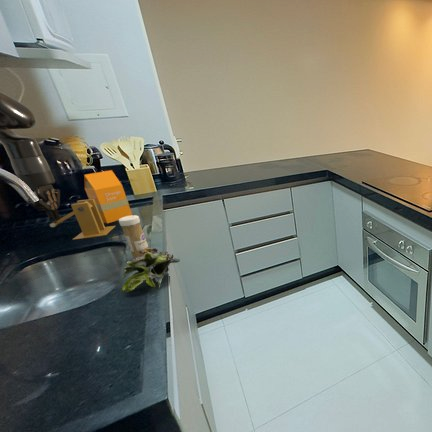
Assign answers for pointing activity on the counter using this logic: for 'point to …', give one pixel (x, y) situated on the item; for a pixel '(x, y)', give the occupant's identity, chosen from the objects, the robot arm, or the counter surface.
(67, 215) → the lever
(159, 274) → the green leafy plant
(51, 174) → the robot arm
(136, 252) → the sprinkles bottle
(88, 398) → the counter surface
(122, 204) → the orange juice
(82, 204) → the wooden slotted stand
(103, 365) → the counter surface
